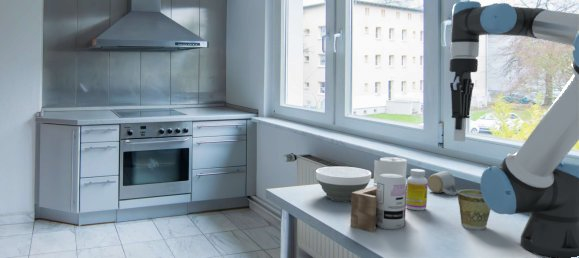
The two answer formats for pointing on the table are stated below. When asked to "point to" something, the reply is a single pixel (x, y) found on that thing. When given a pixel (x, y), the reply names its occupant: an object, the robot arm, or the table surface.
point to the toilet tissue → (390, 166)
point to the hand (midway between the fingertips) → (459, 140)
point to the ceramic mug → (442, 183)
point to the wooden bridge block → (365, 209)
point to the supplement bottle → (416, 190)
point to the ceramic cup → (473, 209)
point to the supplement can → (390, 200)
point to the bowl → (342, 181)
